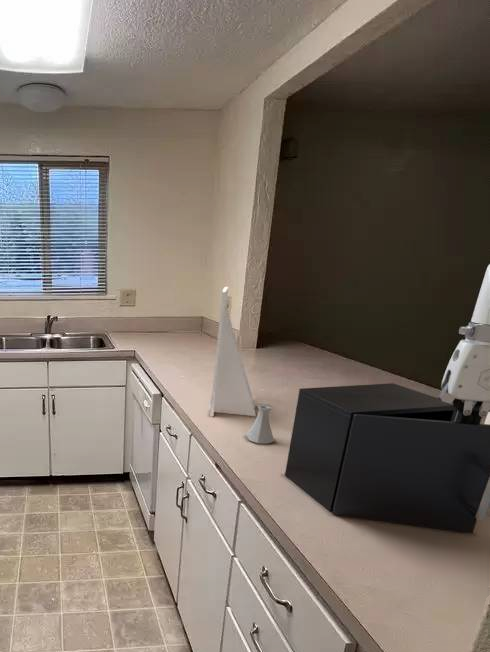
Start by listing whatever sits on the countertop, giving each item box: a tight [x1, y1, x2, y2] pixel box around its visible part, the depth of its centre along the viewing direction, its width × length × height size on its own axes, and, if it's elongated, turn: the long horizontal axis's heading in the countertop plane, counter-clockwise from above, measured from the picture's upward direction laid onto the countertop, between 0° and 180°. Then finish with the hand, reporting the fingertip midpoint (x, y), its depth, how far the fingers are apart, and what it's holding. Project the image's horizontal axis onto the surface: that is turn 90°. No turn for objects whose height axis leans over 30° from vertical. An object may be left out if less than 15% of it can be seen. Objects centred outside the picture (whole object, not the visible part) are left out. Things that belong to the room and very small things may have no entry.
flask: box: [246, 404, 275, 445], centre depth 123 cm, size 7×7×10 cm
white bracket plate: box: [209, 286, 257, 418], centre depth 143 cm, size 20×14×40 cm
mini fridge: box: [284, 382, 458, 513], centre depth 95 cm, size 16×24×22 cm, turn 99°
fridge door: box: [331, 414, 490, 534], centre depth 80 cm, size 6×24×22 cm, turn 74°
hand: (463, 433), depth 80 cm, fingers closed
